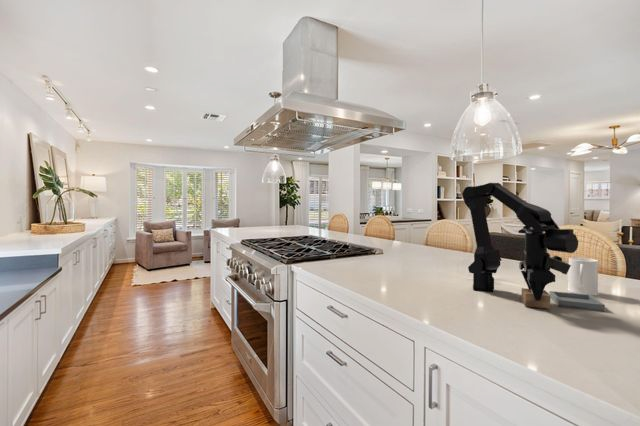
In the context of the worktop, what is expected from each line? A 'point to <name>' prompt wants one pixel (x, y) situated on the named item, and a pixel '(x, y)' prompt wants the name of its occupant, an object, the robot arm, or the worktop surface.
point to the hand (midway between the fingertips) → (535, 297)
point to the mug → (583, 276)
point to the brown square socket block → (531, 302)
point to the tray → (576, 301)
